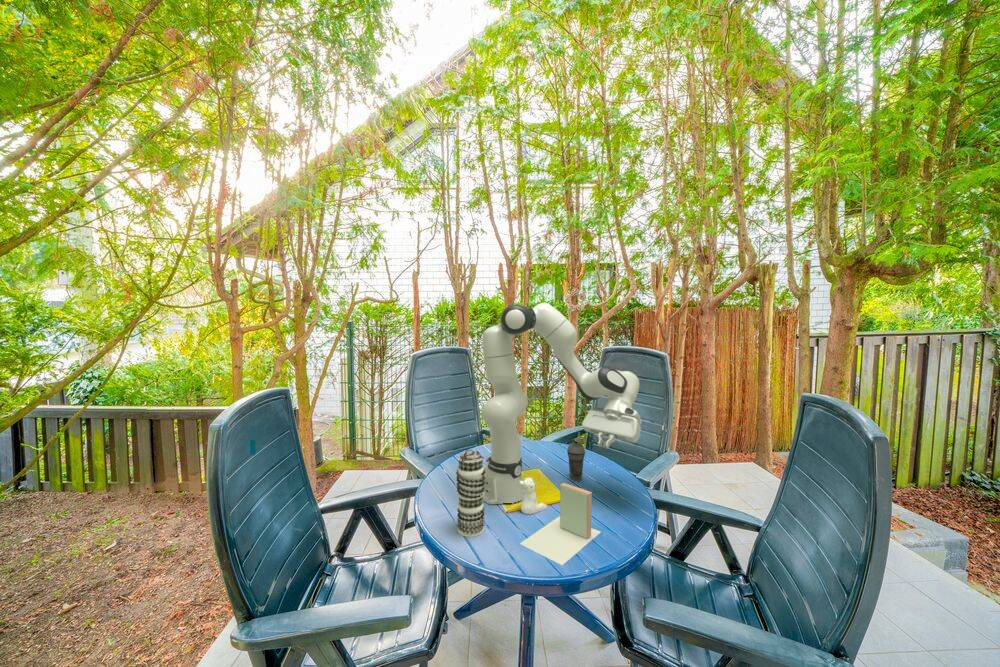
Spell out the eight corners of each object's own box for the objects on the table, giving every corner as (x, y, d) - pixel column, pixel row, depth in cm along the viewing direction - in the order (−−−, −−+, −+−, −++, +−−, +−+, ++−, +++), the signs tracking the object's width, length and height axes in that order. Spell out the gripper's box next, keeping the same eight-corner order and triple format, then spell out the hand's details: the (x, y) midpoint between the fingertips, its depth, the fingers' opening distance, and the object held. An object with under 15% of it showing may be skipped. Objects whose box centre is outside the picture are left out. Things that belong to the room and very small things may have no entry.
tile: (559, 527, 129) (559, 485, 128) (563, 524, 130) (563, 482, 130) (587, 539, 122) (588, 494, 121) (591, 536, 124) (591, 492, 123)
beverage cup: (568, 474, 171) (569, 427, 170) (586, 477, 168) (586, 429, 167) (565, 481, 164) (565, 433, 163) (583, 484, 162) (583, 435, 160)
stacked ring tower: (470, 518, 135) (470, 445, 134) (491, 528, 129) (491, 452, 128) (450, 530, 128) (449, 453, 127) (471, 541, 122) (471, 460, 121)
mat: (519, 545, 120) (519, 543, 120) (560, 517, 137) (560, 515, 136) (562, 567, 110) (562, 565, 110) (601, 533, 127) (601, 531, 127)
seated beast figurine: (548, 509, 142) (548, 475, 141) (537, 520, 134) (537, 485, 134) (524, 502, 147) (524, 470, 146) (512, 513, 139) (512, 479, 138)
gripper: (587, 402, 150) (573, 434, 143) (641, 412, 136) (628, 448, 129) (593, 412, 153) (579, 444, 147) (646, 422, 139) (634, 458, 133)
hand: (602, 446), depth 138 cm, fingers closed
